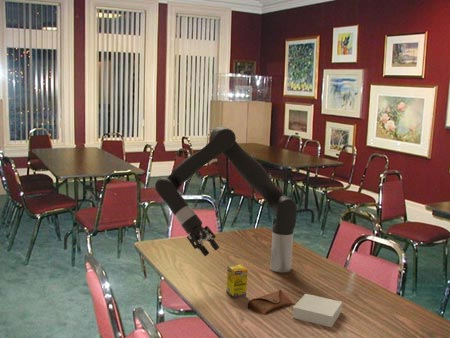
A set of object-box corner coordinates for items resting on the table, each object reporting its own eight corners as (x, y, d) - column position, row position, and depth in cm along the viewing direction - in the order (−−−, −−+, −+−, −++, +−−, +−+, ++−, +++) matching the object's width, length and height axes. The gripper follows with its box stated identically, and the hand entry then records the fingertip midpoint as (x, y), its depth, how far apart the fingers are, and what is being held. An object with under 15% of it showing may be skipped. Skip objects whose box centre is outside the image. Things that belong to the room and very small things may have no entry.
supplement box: (233, 298, 195) (234, 271, 193) (225, 292, 200) (227, 266, 199) (246, 296, 198) (248, 269, 196) (239, 290, 203) (240, 264, 201)
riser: (304, 303, 193) (305, 293, 193) (341, 312, 187) (342, 301, 186) (292, 317, 181) (293, 307, 180) (331, 327, 175) (332, 316, 174)
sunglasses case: (263, 316, 181) (257, 297, 183) (251, 319, 186) (245, 301, 188) (296, 303, 193) (290, 286, 195) (283, 306, 198) (278, 290, 200)
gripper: (185, 217, 197) (210, 251, 194) (203, 210, 210) (226, 242, 206) (173, 228, 200) (197, 262, 197) (191, 221, 213) (214, 252, 210)
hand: (212, 251), depth 202 cm, fingers open, 8 cm apart
